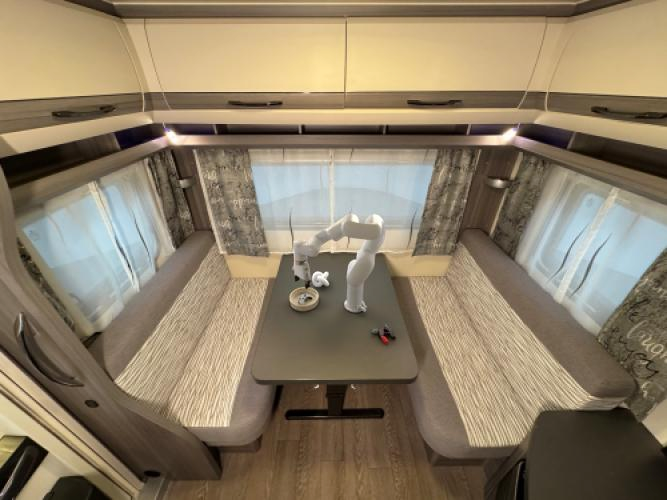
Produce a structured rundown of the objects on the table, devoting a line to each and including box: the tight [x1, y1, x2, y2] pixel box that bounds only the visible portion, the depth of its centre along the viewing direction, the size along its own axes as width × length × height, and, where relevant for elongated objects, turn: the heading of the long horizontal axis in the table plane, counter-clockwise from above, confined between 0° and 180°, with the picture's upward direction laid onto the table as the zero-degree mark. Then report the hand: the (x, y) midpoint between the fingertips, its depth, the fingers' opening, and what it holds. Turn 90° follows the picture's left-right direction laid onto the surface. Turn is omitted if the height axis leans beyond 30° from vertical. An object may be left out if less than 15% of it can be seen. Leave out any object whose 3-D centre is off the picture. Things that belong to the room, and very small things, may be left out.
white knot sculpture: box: [311, 271, 330, 288], centre depth 175 cm, size 11×12×9 cm
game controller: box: [297, 294, 313, 306], centre depth 161 cm, size 10×5×6 cm
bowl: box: [289, 286, 320, 312], centre depth 161 cm, size 18×18×4 cm
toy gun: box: [371, 323, 396, 345], centre depth 135 cm, size 10×12×5 cm
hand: (302, 284), depth 155 cm, fingers open, 9 cm apart
